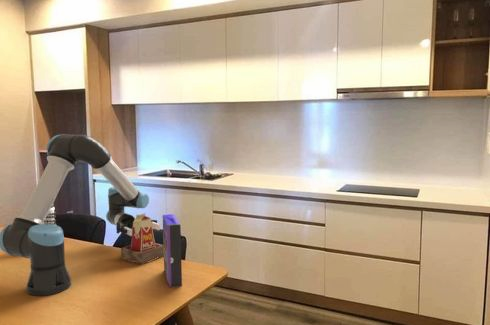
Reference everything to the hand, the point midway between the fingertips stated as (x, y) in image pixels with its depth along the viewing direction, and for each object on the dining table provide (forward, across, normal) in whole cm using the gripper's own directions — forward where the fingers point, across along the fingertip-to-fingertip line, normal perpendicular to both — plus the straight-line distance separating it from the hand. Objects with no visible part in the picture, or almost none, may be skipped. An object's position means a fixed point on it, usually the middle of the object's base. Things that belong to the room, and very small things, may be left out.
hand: (145, 230), depth 181 cm
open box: (-3, 0, -14) cm, 14 cm away
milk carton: (-3, 0, -13) cm, 13 cm away
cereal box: (+27, +2, -14) cm, 30 cm away
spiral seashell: (-47, +29, -14) cm, 57 cm away
